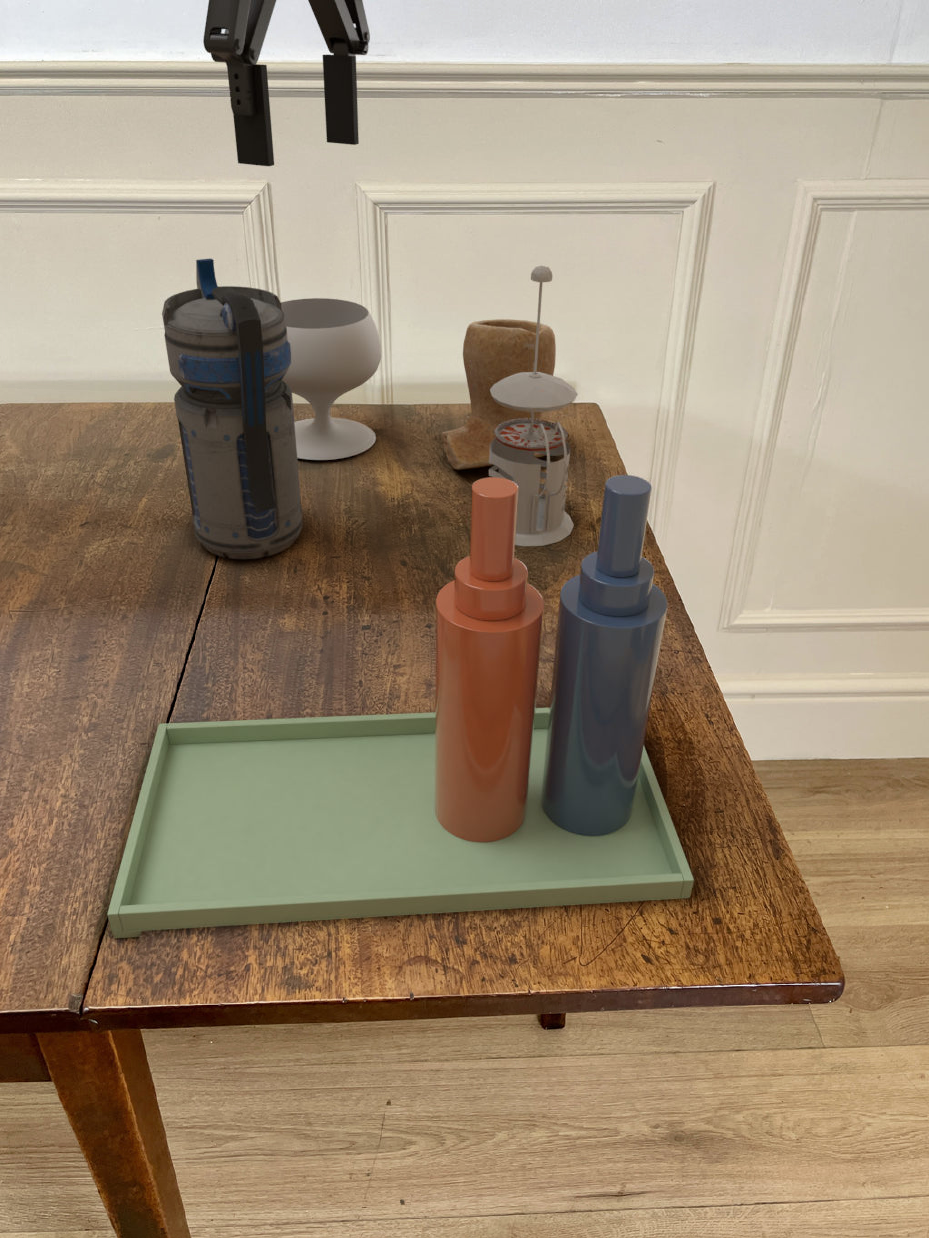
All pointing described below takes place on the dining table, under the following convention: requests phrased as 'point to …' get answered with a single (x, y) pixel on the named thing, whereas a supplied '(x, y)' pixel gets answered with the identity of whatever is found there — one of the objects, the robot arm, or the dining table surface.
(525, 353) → the brown suede boot
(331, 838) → the tray
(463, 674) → the terracotta bottle
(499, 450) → the french press
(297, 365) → the chalice
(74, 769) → the dining table surface
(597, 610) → the slate-blue bottle
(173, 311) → the beverage bottle
